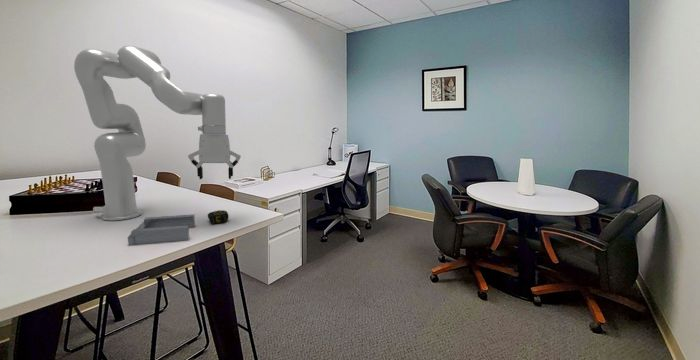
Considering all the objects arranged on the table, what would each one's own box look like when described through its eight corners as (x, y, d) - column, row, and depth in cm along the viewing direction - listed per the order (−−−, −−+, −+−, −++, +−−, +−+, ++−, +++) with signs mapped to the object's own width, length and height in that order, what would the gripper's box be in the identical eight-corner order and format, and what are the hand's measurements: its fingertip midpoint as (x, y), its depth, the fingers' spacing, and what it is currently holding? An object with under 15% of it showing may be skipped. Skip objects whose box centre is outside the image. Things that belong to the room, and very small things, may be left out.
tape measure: (207, 220, 120) (207, 211, 120) (227, 218, 123) (226, 209, 123) (209, 226, 114) (208, 216, 114) (230, 223, 118) (229, 213, 117)
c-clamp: (128, 245, 96) (127, 232, 95) (146, 226, 113) (145, 215, 112) (188, 240, 100) (187, 227, 100) (196, 222, 117) (195, 212, 117)
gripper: (185, 130, 107) (187, 180, 110) (240, 132, 112) (240, 180, 115) (188, 129, 114) (191, 176, 117) (240, 130, 119) (241, 176, 123)
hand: (215, 178), depth 116 cm, fingers open, 9 cm apart
